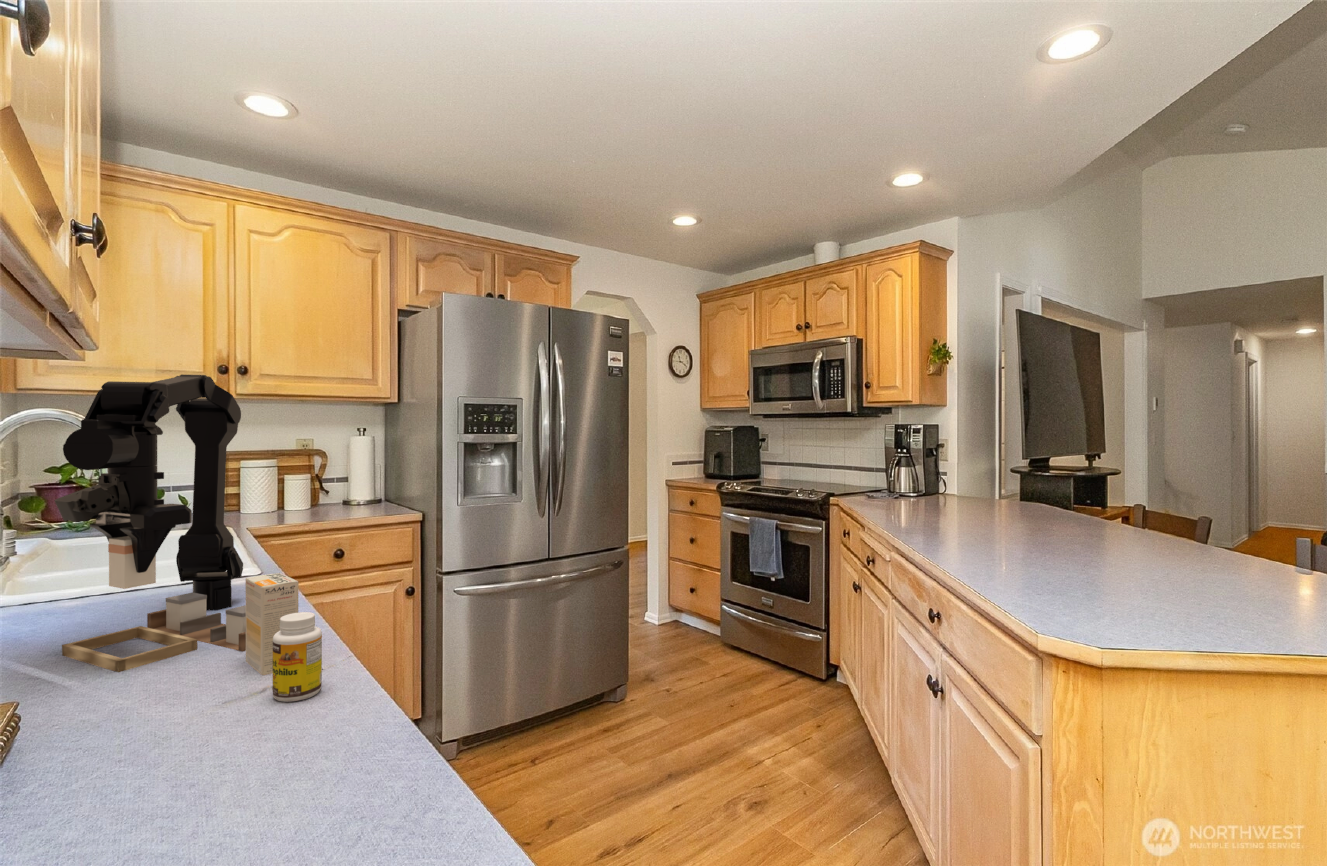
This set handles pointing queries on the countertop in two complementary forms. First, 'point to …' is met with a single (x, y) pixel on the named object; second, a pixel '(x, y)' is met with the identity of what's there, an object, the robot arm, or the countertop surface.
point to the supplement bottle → (297, 658)
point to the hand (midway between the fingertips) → (132, 570)
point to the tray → (87, 655)
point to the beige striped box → (127, 565)
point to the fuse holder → (198, 629)
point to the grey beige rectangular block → (184, 609)
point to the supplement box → (267, 616)
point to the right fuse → (235, 623)
